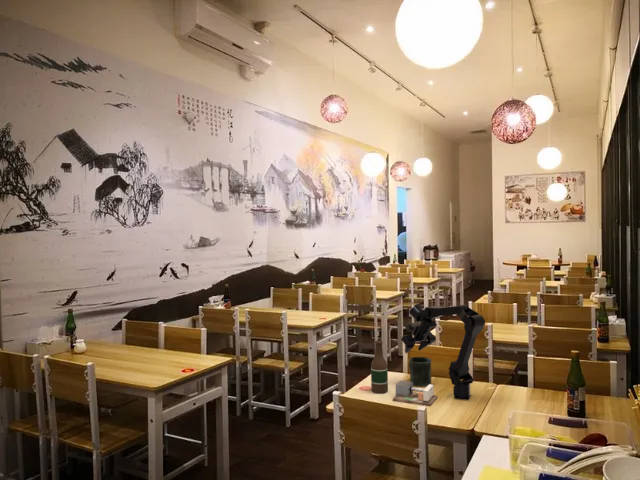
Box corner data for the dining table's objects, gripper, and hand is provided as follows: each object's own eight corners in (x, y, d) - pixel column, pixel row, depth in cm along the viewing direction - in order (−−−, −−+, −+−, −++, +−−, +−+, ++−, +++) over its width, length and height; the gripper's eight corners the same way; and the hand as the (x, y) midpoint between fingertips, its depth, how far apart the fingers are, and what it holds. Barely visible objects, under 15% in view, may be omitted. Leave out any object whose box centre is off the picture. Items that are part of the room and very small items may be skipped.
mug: (418, 388, 240) (417, 363, 239) (401, 380, 253) (400, 356, 253) (436, 385, 244) (436, 360, 244) (419, 377, 257) (418, 354, 257)
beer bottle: (387, 394, 232) (386, 342, 232) (370, 393, 234) (369, 342, 233) (388, 389, 240) (387, 339, 239) (372, 388, 241) (371, 338, 241)
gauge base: (437, 397, 226) (437, 395, 226) (430, 406, 215) (430, 403, 215) (401, 392, 234) (401, 390, 234) (392, 400, 223) (392, 398, 223)
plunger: (433, 394, 226) (433, 384, 226) (427, 401, 217) (427, 391, 217) (414, 392, 230) (414, 382, 230) (407, 398, 221) (407, 388, 221)
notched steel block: (413, 393, 230) (412, 382, 230) (408, 397, 224) (408, 386, 224) (400, 391, 233) (400, 380, 233) (395, 395, 227) (395, 384, 227)
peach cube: (424, 399, 220) (424, 392, 220) (422, 400, 219) (422, 393, 218) (419, 398, 221) (419, 391, 221) (418, 400, 219) (418, 393, 219)
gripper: (427, 315, 255) (415, 338, 262) (400, 319, 244) (389, 343, 252) (441, 329, 247) (429, 352, 254) (414, 334, 237) (402, 358, 244)
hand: (412, 351), depth 251 cm, fingers open, 9 cm apart
